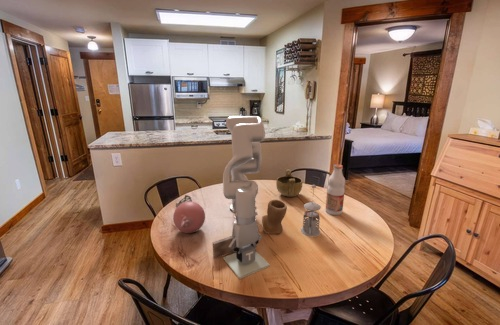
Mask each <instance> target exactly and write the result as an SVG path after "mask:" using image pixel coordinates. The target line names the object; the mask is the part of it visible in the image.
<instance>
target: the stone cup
mask: <svg viewBox="0 0 500 325" xmlns="http://www.w3.org/2000/svg"><path fill="white" fill-rule="evenodd" d="M267 203H268V204H267V209H266V215H263V216H262V217H261V222H262V223H261V226H262V229H263V232H264V233H266V234H269V235H278V234H281V233H282V232H283V225H282V222H283V220H284V218H285V217H286V214H287V210H288V209H287V208H288V206H287V204H286V203H285V202H284V201H282V200H279V199H272V200H269V201H268V202H267Z"/></svg>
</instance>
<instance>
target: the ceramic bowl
mask: <svg viewBox="0 0 500 325" xmlns="http://www.w3.org/2000/svg"><path fill="white" fill-rule="evenodd" d="M275 183H276V190H277V192H278V193H279V194H281V195H283V196H284V197H288V198H292V197H293V198H294V197H296V196H298V195H299V194H300V193H301V191H302V189H303V179H302V178H300V177H298V176H294V175H292V169H285V175H283V176H279V177H277V179H276V182H275Z"/></svg>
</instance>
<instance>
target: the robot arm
mask: <svg viewBox="0 0 500 325" xmlns="http://www.w3.org/2000/svg"><path fill="white" fill-rule="evenodd" d="M225 125H226V129H228V131H229V132H230V134H231V151H232V157H231V159H230V160H229V161H228V163H227V164H226V165H225V168H224V170H223V174H222V191H223V192H222V193H223V196H224V198H225V199H228V200H231V202H232V204H230V205H229V210H230V211H231V212H233V213H235V220H234V221H233V225H232V226H233V227H232V235H231V236H232V242H231V243H230V245H229V248H230V249H232V250H234V253H236V257H237V259H238V260H239V261H240V262H242V253H241V250H242V247H243V246H246V245H249V244H251V245H252V246H253V247H254V248H255V249H256V248H257V246H258V244H259V242H260V240H262V238H263V236H262V235H261V234H260V233H259V226H258V221H257V218H256V216H258V212H257V211H256V198H257V195H258V194H259V186H258V183H257V182H256V180H253V179H248V177H247V175H246V174H257V173H258V174H259V173H260V171H261V168H262V167H261V166H262V145H261V144H262V143H261V142H264V141H265V137H266V131H265V126H264V122H263V119H262V117H261V116H258V115H232V116H231V115H230V116H228V117H227V118H226V120H225ZM230 175H231V180H230ZM235 244H236V247H235V246H234V245H235ZM238 248H239V249H238Z"/></svg>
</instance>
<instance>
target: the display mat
mask: <svg viewBox="0 0 500 325" xmlns="http://www.w3.org/2000/svg"><path fill="white" fill-rule="evenodd" d="M222 260H224V261H225V263H226V264H227V265H228V267H229V268H230V269H231V271H232V272H233V273H234V274H235V276H236V277H237V278H238V279H239V280H242V279H243V278H247V277H248V276H250V275H253V274H256V273H258V272H259V271H263V270H265V269H267V268H269V267H270V265H271V264H270V263H269V262H268V261H267V260H266V259H265V258H264V257H263V256H262V255H261V254H260V253H259V252H257V251H256V250H255V260H254V261H252V262H249V263H247V264H244V265H243V264H242V262H240V261H239V260H238V259H237V257H236V252H233V253H232V254H231V253H230V254H229V255H228V254H227V255H226V256H225V255H224V256H223V259H222Z"/></svg>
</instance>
